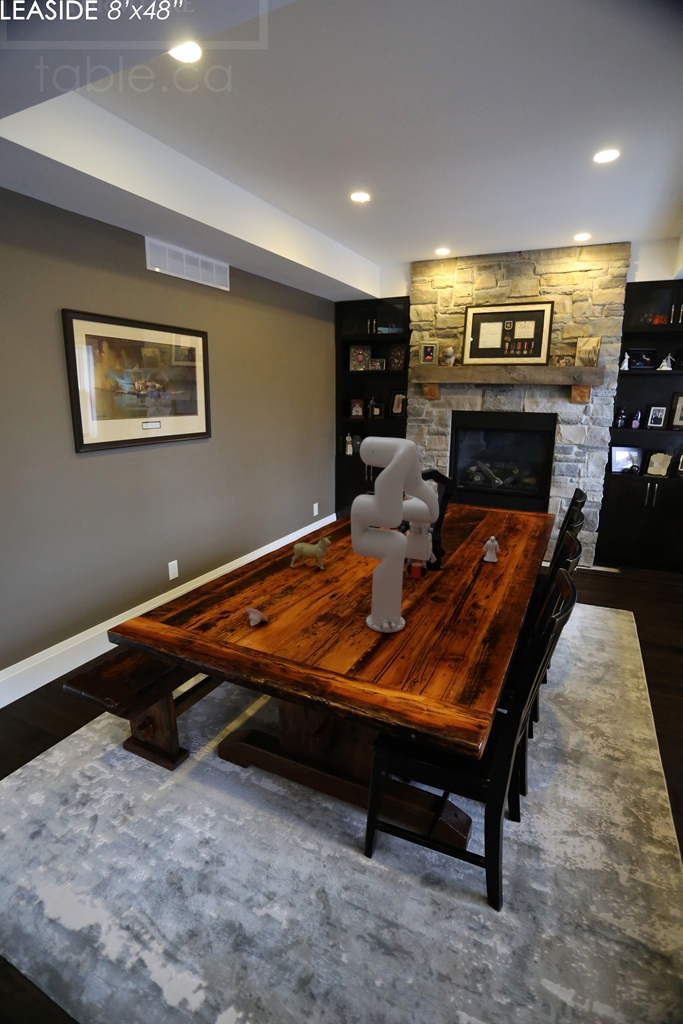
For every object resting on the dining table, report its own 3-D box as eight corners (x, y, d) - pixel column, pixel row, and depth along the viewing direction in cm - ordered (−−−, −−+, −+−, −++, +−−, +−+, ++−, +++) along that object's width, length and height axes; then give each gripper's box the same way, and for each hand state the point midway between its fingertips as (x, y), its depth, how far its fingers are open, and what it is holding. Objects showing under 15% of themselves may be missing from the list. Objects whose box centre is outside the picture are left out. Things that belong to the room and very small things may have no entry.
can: (414, 573, 195) (415, 561, 194) (424, 576, 193) (425, 564, 191) (408, 576, 192) (409, 564, 191) (418, 579, 189) (418, 567, 188)
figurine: (481, 562, 222) (483, 536, 219) (482, 556, 230) (484, 531, 227) (499, 564, 220) (501, 538, 217) (499, 558, 228) (501, 533, 225)
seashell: (251, 634, 162) (235, 615, 161) (262, 623, 165) (246, 604, 164) (262, 630, 156) (245, 610, 155) (273, 618, 159) (257, 599, 158)
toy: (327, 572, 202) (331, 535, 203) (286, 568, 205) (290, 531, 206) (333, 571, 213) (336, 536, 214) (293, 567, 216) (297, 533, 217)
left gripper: (443, 529, 189) (439, 575, 193) (399, 525, 194) (397, 569, 198) (440, 535, 182) (436, 582, 186) (394, 529, 187) (392, 575, 192)
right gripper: (374, 513, 193) (373, 551, 196) (419, 511, 197) (417, 548, 201) (365, 506, 203) (364, 543, 207) (408, 504, 208) (407, 540, 212)
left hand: (416, 575), depth 192 cm, fingers closed on can, 4 cm apart
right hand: (388, 544), depth 206 cm, fingers open, 9 cm apart
